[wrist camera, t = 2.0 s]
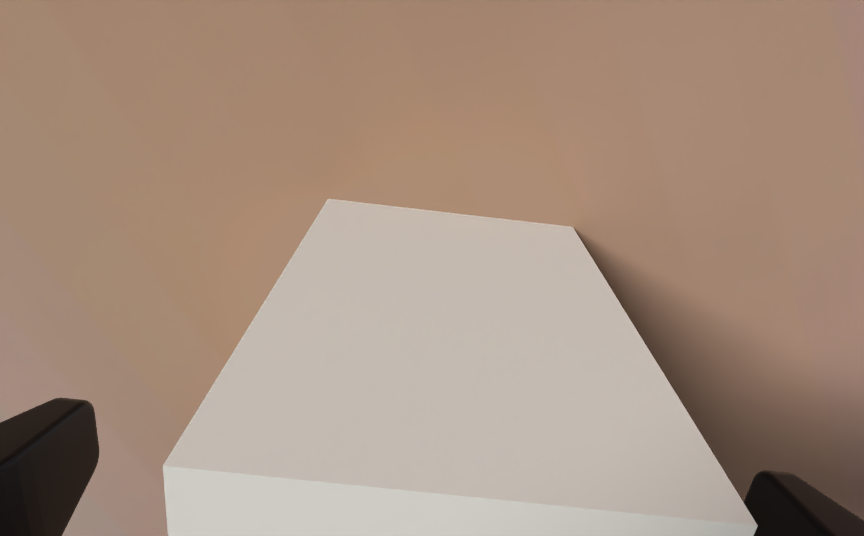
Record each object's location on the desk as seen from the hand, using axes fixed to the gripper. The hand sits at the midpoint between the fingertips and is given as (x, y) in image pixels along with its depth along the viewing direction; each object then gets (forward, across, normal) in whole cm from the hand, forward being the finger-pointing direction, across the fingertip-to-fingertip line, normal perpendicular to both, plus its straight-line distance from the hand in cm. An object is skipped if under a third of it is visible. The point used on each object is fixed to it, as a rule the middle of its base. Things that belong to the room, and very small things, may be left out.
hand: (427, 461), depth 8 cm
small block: (+4, 0, 0) cm, 4 cm away
